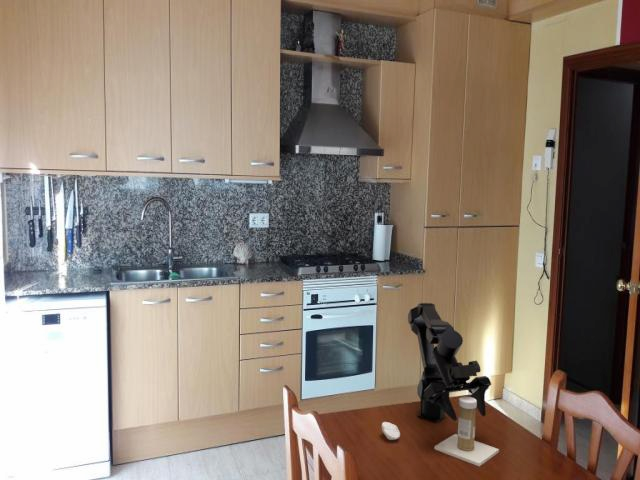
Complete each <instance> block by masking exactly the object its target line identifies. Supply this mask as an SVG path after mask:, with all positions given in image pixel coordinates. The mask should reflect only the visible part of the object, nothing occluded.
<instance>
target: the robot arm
mask: <svg viewBox="0 0 640 480" xmlns="http://www.w3.org/2000/svg"><path fill="white" fill-rule="evenodd" d="M407 323H408V324H409V326H410V331H411V332H413V334H415V336H416V337H417V340H418V341H417V342H418V346H419V350H420V351H419V352H420V358H421V360H422V361H421V362H422V367H423V371H422V373H421V374H422V375H421V378H420V380H419V382H418V385H417V386H416V387H417V388H416V390H417V392H416V393H417V396H418V397H419V399H420V408H419V409H420V410H419V411H420V412H419V413H417V415H416V416H417V417H419V418H422V419H424V420H427V421H430V422H433V423H437V422H439V421H441V420H442V419H444V418H446V416H447V415H448V417H449V418H451V420H452V421H454V422H456V421H458V418H457V413H456V412H455V411H456V410H455V409H454V407H453V404H452V402H451V400H450V393H456V392H463V391H468V393H470V396H469V397H472V398H475V399H476V400H477V407H476V409H477V410H478V412H479V413H480V415H481V416H482V417H485V416H486V414H487V412H486V403H485V398H486V397H485V396H486V392H487V391H488V389H490V388H489V387H491V385H492V382H491V379H490V378H489V377H488V376H486V375H482V376H478V373H481V371H482V369H481V366H480V364H479V362H478V360H471V361H468V364H463V363H462V361H461V362H458V360H457V357H456V356H457V354H458V352H459V350H460V348H461V347H462V345H463V342H464V340H463V336H462V335H461V334H460V332H458V331H457V330H455V328H454V326H452V324H450V323H449V322H448V321H446V320H442V318H441V316H440V314H439V312H438V311H437V310H436V305H435V303H432V302H421V303H418V305H416V306H415V307H413V308H411V309H410V310H409V312H408V314H407ZM434 345H436V346H434ZM471 377H474V378H473V379H472V380H471ZM467 381H469V382H467Z"/></svg>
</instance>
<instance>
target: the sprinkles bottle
mask: <svg viewBox="0 0 640 480" xmlns="http://www.w3.org/2000/svg"><path fill="white" fill-rule="evenodd" d="M458 408H459V409H458V420H457V421H458V422H457V423H458V424H457V425H458V426H457V435H458V444H457V446H458V448H459V449H461V450H465V451H471V450H473V449H474V441H475V437H476V434H475V433H476V409H477V400H476V399H475V398H472V397H470V396H467V395H466V396H460V397H459V398H458Z"/></svg>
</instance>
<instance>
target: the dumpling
mask: <svg viewBox="0 0 640 480" xmlns="http://www.w3.org/2000/svg"><path fill="white" fill-rule="evenodd" d="M381 430H382V433H383V434H384V435H385V437H386V439H388V440H390V441H395V440H397V439H399V438H400V437H401V432H400V430H399V428H398V426H397V425H396V424H393V423H391V422H388V421H383V422H382V423H381Z"/></svg>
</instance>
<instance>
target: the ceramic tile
mask: <svg viewBox="0 0 640 480" xmlns="http://www.w3.org/2000/svg"><path fill="white" fill-rule="evenodd" d="M457 444H458V433H454V434H453V435H451V436H448V438H445V439H444V440H442V441H440V442H439V443H438V444H436V445H434V450H436V451H438V452H441V453H442V454H446V455H449V456H451V457H453V458H456V459H458V460H461V461H464V462H467V463H469V464H472V465H474V466H477V467H479V468H480V467H481V466H482V465H484V464H486V462H488V461H489V460H490V459H492V458H493V457H494V456H496V455H497V454H498V453H499V452H500V449H499V448H496V447H494V446H490V445H488V444H486V443H482V442H479V441H478V440H477V441H476V440H474V449H473V450H471V451H465V450H461V449H459V448H458V446H457Z"/></svg>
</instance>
